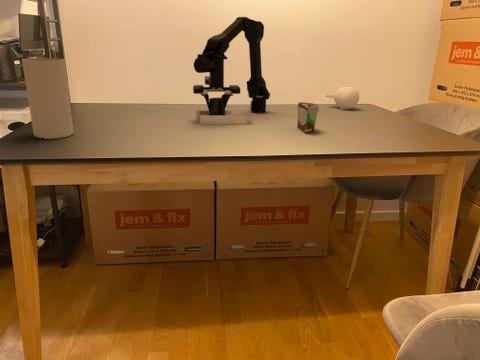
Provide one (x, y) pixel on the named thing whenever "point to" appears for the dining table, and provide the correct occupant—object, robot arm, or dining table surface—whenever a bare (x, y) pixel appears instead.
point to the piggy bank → (345, 97)
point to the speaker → (217, 106)
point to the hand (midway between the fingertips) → (216, 110)
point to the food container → (307, 117)
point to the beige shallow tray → (219, 118)
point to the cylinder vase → (48, 97)
